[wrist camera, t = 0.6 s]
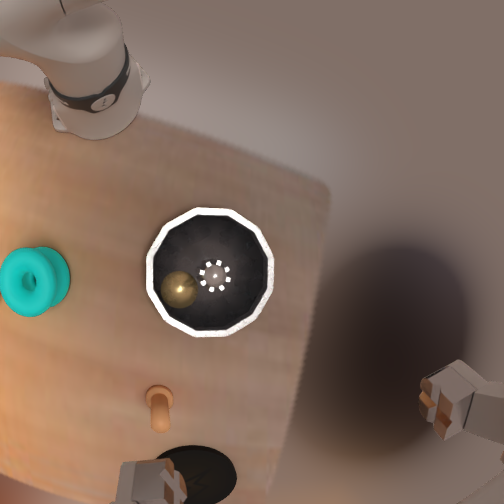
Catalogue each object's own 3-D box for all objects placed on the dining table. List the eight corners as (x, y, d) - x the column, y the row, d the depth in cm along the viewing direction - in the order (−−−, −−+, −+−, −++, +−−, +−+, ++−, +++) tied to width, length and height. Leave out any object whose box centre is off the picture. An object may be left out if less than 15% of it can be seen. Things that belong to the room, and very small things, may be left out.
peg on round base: (140, 392, 51) (138, 420, 41) (163, 380, 52) (164, 407, 42) (156, 412, 52) (156, 442, 42) (177, 400, 53) (182, 429, 43)
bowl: (125, 248, 50) (119, 249, 43) (231, 189, 54) (242, 182, 47) (187, 351, 53) (191, 367, 46) (285, 291, 57) (302, 298, 50)
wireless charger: (243, 448, 57) (245, 453, 55) (225, 504, 56) (226, 509, 54) (154, 438, 52) (154, 444, 50) (145, 497, 51) (146, 503, 49)
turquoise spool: (-12, 260, 35) (40, 237, 37) (14, 257, 44) (61, 238, 47) (9, 326, 36) (63, 307, 38) (33, 312, 46) (80, 295, 48)
